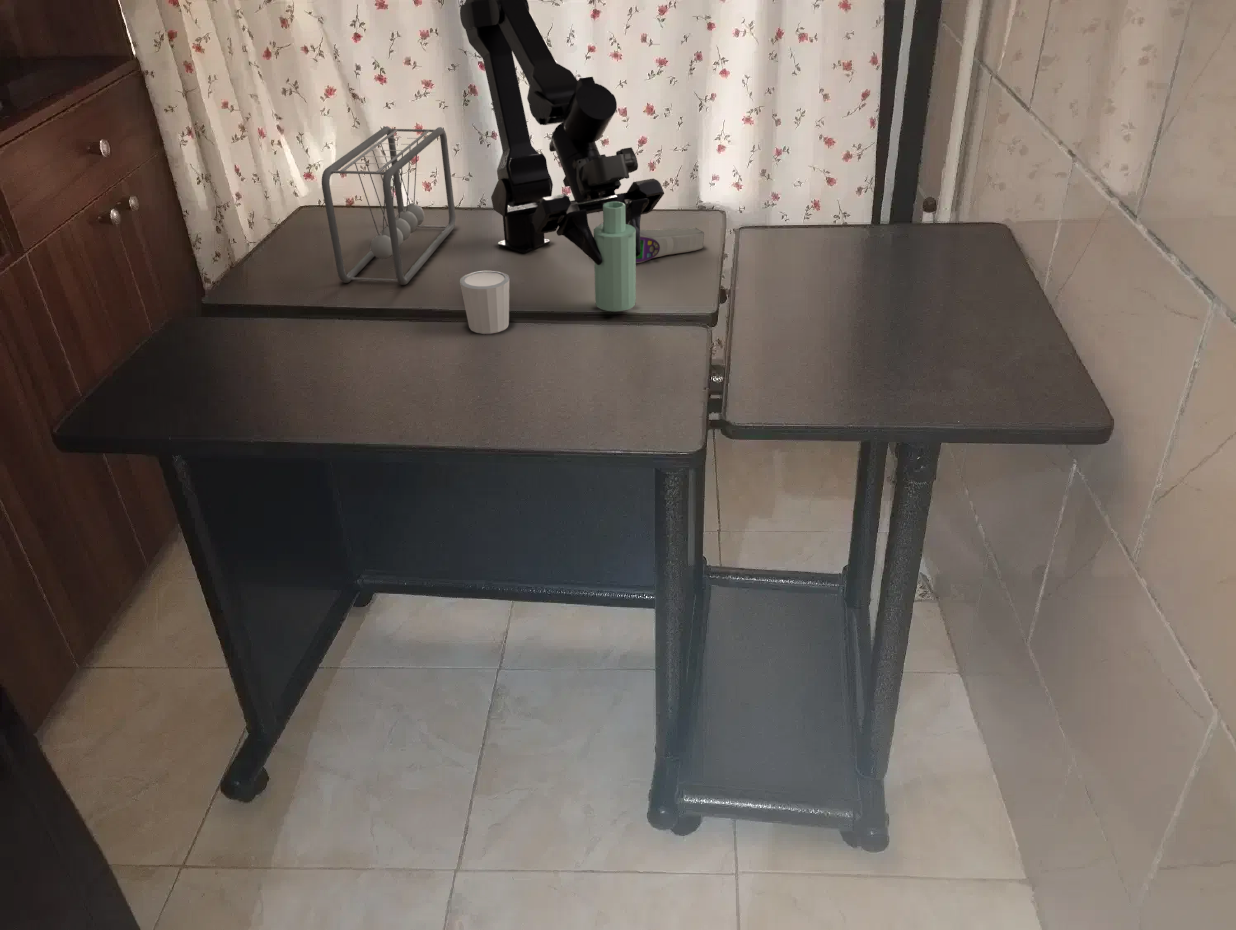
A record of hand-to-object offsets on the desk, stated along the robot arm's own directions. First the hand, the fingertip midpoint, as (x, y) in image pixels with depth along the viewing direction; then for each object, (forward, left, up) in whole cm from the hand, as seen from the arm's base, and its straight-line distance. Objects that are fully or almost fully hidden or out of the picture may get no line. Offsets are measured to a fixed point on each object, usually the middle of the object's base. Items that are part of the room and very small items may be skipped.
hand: (619, 259), depth 134 cm
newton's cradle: (-45, -3, -8) cm, 45 cm away
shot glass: (-12, -14, -8) cm, 21 cm away
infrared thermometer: (-13, +25, -8) cm, 29 cm away
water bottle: (-1, +1, -7) cm, 7 cm away
